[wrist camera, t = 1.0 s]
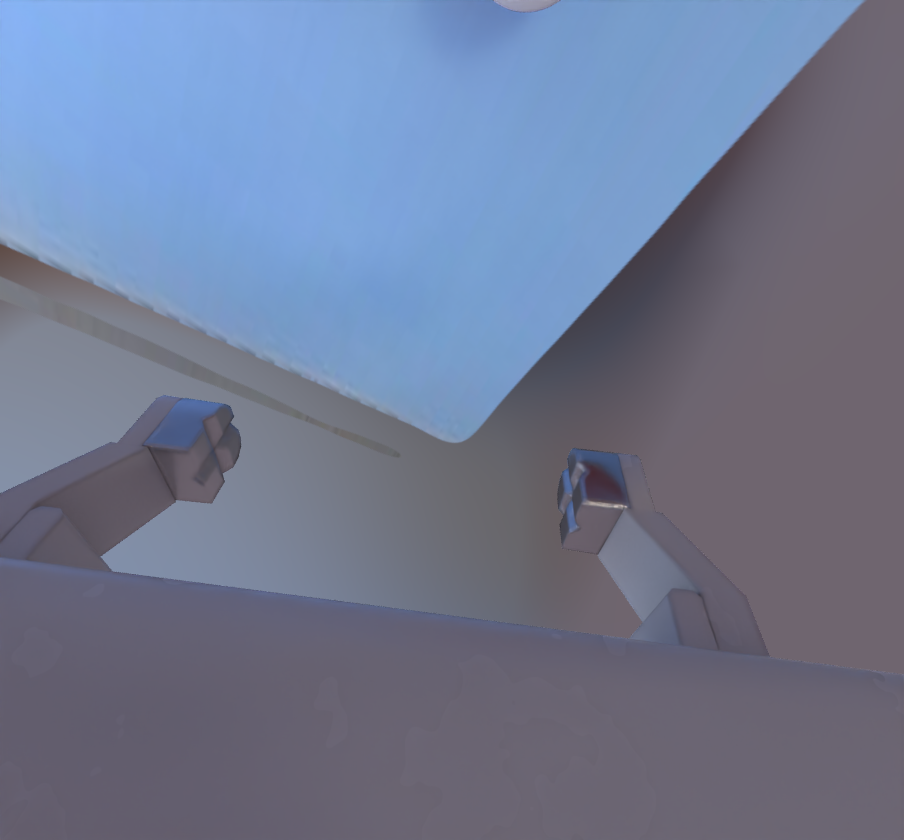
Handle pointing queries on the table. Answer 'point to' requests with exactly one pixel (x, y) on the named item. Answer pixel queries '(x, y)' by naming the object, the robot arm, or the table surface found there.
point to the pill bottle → (526, 4)
